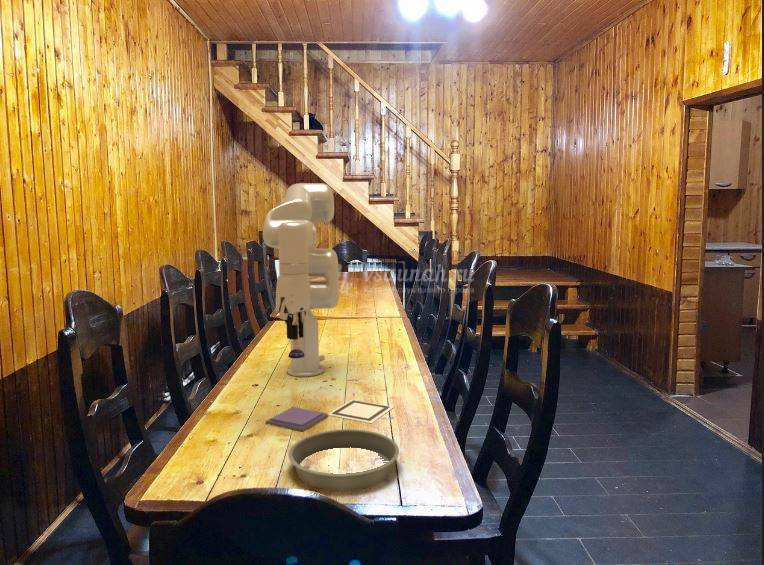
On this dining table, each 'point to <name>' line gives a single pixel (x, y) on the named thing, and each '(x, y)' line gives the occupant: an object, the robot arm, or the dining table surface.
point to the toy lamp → (296, 344)
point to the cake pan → (344, 440)
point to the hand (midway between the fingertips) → (295, 337)
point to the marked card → (361, 411)
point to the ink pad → (297, 419)
